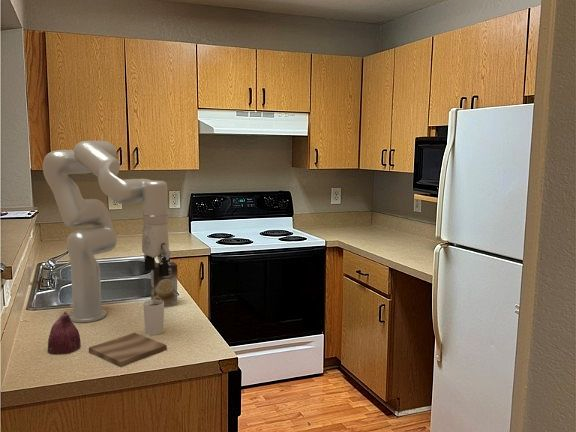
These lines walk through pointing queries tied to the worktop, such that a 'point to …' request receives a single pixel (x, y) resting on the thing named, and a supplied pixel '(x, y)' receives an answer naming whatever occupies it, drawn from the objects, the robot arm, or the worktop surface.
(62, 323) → the vegetable
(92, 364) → the worktop surface
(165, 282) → the coffee box
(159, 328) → the white coffee cup
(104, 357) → the walnut board
